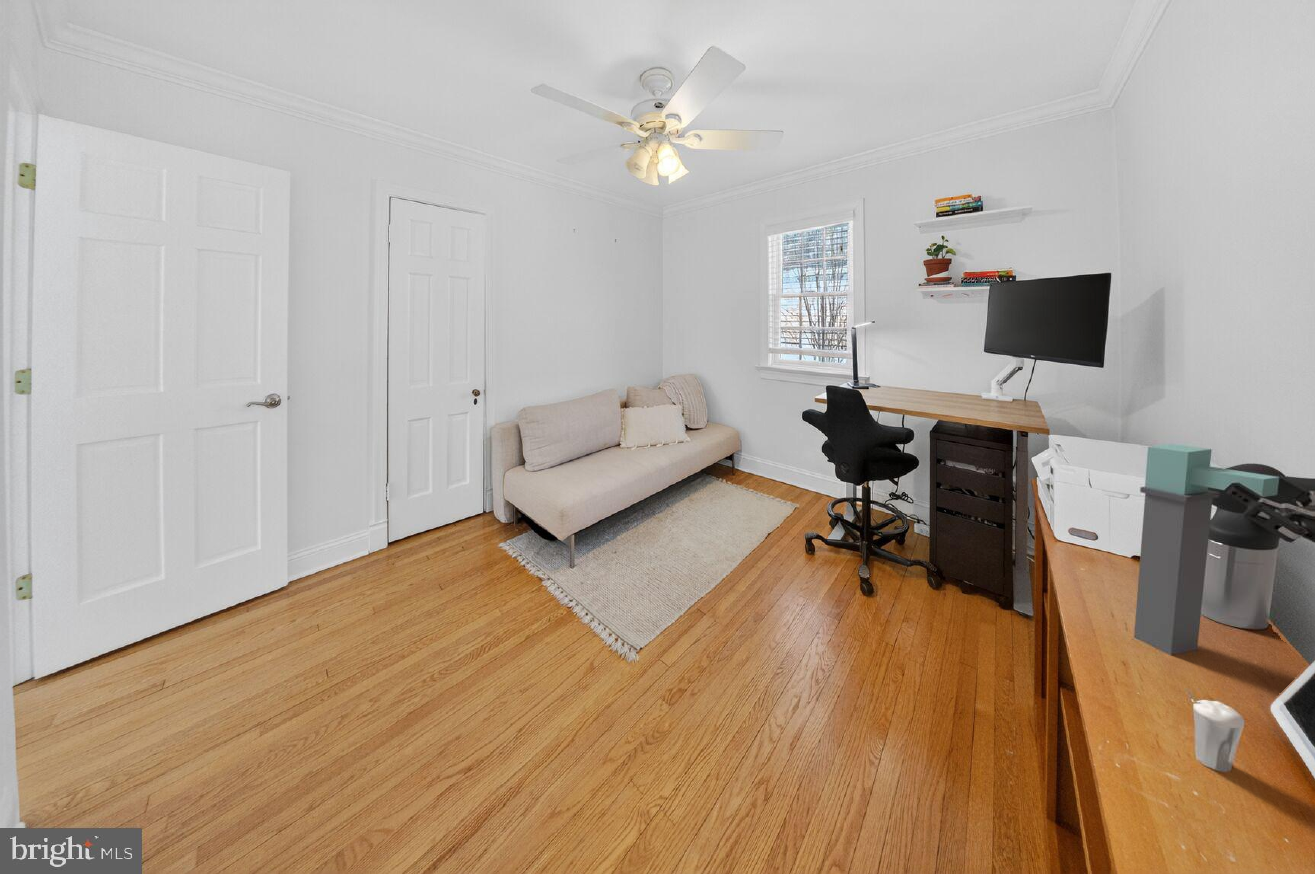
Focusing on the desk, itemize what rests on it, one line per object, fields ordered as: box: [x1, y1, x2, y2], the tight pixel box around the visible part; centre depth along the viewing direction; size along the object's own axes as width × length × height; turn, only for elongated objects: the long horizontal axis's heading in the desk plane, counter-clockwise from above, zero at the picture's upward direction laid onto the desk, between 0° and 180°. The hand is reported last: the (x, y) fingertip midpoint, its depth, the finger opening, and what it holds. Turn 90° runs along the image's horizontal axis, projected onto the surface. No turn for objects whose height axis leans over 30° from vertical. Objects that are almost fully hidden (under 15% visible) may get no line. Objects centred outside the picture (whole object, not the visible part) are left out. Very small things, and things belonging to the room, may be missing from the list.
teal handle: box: [1144, 443, 1279, 497], centre depth 80 cm, size 15×5×8 cm, turn 7°
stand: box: [1133, 486, 1219, 656], centre depth 87 cm, size 7×7×32 cm
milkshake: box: [1185, 688, 1245, 773], centre depth 64 cm, size 4×5×10 cm
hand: (1251, 483), depth 74 cm, fingers open, 8 cm apart
